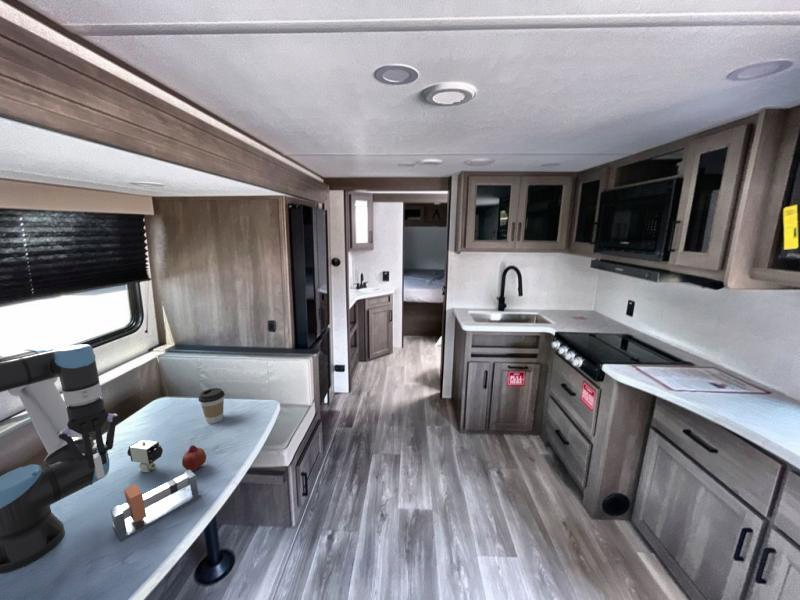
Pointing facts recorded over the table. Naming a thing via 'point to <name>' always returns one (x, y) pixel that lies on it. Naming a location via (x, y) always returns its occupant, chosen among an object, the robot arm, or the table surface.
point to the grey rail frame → (156, 505)
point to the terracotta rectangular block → (135, 502)
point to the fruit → (193, 458)
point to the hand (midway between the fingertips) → (100, 475)
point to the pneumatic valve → (145, 454)
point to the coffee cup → (212, 404)
